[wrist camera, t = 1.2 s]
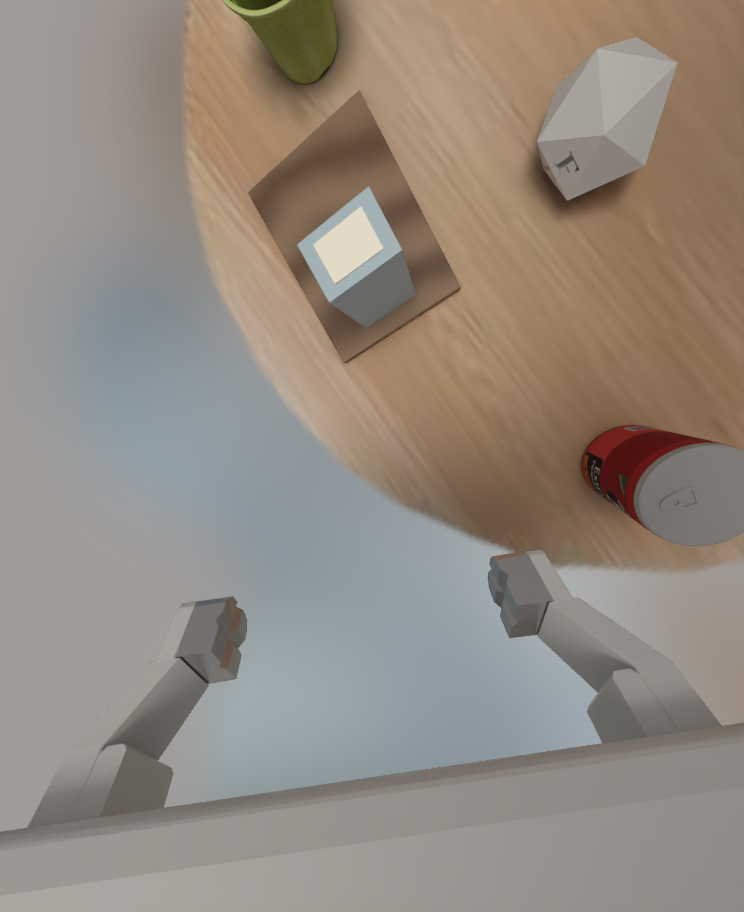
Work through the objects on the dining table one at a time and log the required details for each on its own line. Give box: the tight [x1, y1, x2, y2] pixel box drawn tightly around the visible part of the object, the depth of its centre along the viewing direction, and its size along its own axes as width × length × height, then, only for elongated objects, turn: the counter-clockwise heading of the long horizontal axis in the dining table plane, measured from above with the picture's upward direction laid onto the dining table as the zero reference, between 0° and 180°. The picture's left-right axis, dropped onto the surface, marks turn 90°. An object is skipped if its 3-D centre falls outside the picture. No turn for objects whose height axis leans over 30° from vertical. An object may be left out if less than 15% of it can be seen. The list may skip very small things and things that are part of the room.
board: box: [248, 90, 460, 363], centre depth 34 cm, size 20×14×1 cm
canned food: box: [582, 425, 744, 546], centre depth 28 cm, size 8×8×11 cm
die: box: [537, 37, 678, 201], centre depth 25 cm, size 8×9×10 cm
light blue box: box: [297, 186, 416, 328], centre depth 28 cm, size 4×6×12 cm
